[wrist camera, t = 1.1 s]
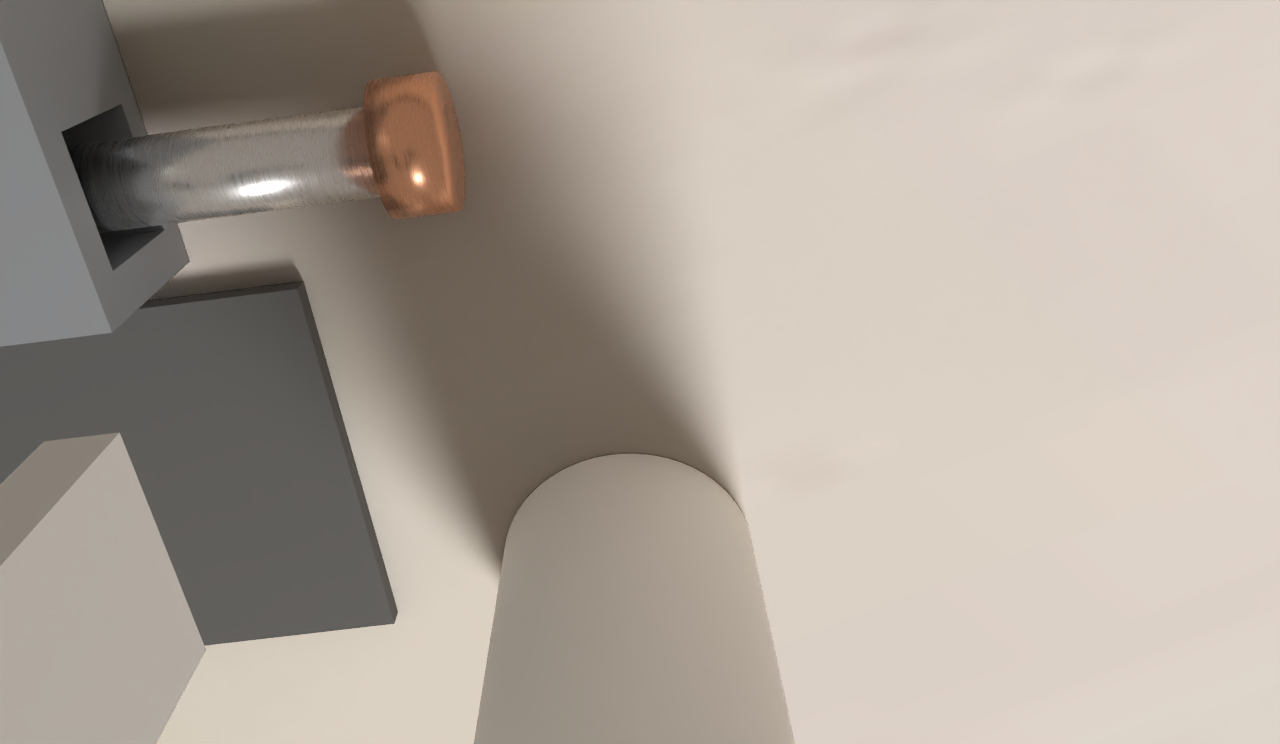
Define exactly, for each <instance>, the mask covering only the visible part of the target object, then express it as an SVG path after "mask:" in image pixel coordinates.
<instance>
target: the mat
mask: <svg viewBox="0 0 1280 744" xmlns="http://www.w3.org/2000/svg"><path fill="white" fill-rule="evenodd" d="M111 433H120V435H121V437H122V440H123V442H124V445H125V447H126V450H127V452H128V455H129V457H130V460H131V462H132V465H133V467H134V470H135V472H136V475H137V477H138V480H139V482H140V485H141V487H142V490H143V493H144V495H145V498H146V500H147V503H148V505H149V508H150V510H151V513H152V515H153V518H154V520H155V523H156V525H157V528H158V530H159V533H160V535H161V538H162V540H163V543H164V545H165V548H166V550H167V553H168V556H169V558H170V561H171V563H172V566H173V568H174V571H175V573H176V576H177V578H178V581H179V583H180V586H181V588H182V591H183V593H184V596H185V598H186V601H187V603H188V606H189V608H190V611H191V613H192V616H193V618H194V621H195V624H196V626H197V629H198V631H199V634H200V636H201V639H202V641H203V644H204V645H213V644H221V643H230V642H239V641H247V640H256V639H265V638H273V637H282V636H291V635H299V634H308V633H316V632H325V631H334V630H342V629H351V628H360V627H368V626H377V625H386V624H394V623H395V620H396V616H397V613H398V611H397V607H396V604H395V600H394V597H393V593H392V590H391V586H390V583H389V579H388V576H387V572H386V569H385V566H384V562H383V559H382V555H381V552H380V548H379V545H378V541H377V538H376V534H375V531H374V527H373V524H372V520H371V517H370V513H369V510H368V506H367V503H366V499H365V496H364V492H363V489H362V485H361V482H360V478H359V475H358V471H357V468H356V464H355V461H354V457H353V454H352V450H351V447H350V443H349V440H348V436H347V433H346V429H345V426H344V422H343V419H342V415H341V412H340V408H339V405H338V401H337V398H336V394H335V391H334V387H333V384H332V380H331V377H330V373H329V370H328V366H327V363H326V359H325V356H324V352H323V349H322V345H321V342H320V338H319V335H318V331H317V328H316V324H315V321H314V317H313V314H312V311H311V307H310V304H309V300H308V297H307V293H306V290H305V286H304V283H303V281H302V282H294V283H287V284H279V285H271V286H263V287H255V288H247V289H239V290H231V291H223V292H215V293H207V294H199V295H191V296H183V297H176V298H168V299H160V300H152V301H146V302H145V303H144V304H143V305H142V306H141V307H140V308H139V309H137V310H136V311H135V312H134V313H133V314H132V315H131V316H130V317H129V318H128V319H127V320H125V321H124V322H123V323H122V324H121V325H120V326H119V327H118V328H117V329H116V330H114V331H113V332H112V333H106V334H98V335H90V336H82V337H74V338H66V339H58V340H50V341H42V342H34V343H26V344H18V345H10V346H2V347H0V484H1V483H2V482H3V481H4V480H5V479H6V478H7V477H8V476H9V475H10V474H11V473H12V472H13V471H14V470H15V469H16V468H17V467H18V466H19V465H20V464H21V463H22V462H23V461H24V460H25V459H26V458H27V457H28V456H29V455H30V454H31V453H33V452H34V451H35V450H36V449H37V448H38V447H39V446H40V445H41V444H42V443H43V442H44V441H51V440H60V439H68V438H77V437H85V436H94V435H103V434H111Z"/></svg>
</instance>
